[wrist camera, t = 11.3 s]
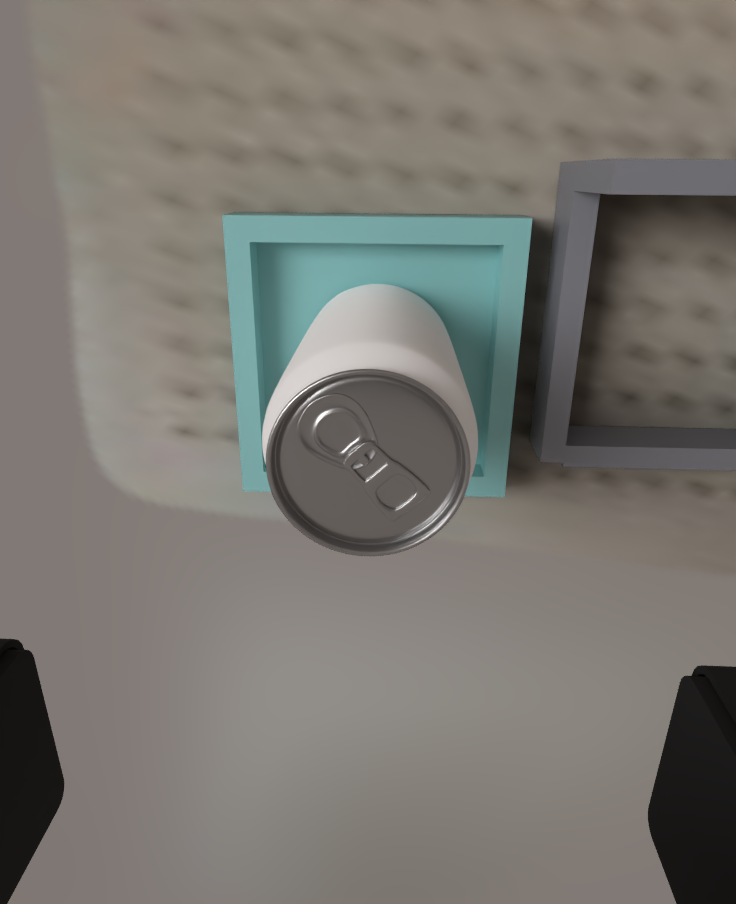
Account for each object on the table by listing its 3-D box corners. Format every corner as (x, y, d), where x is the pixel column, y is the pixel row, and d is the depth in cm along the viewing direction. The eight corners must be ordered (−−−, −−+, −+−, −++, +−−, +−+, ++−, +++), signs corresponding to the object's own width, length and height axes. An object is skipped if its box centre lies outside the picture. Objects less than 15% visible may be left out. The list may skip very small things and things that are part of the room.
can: (382, 248, 27) (374, 299, 16) (481, 360, 29) (535, 477, 18) (274, 351, 29) (200, 461, 18) (373, 451, 31) (362, 607, 20)
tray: (523, 215, 27) (532, 218, 25) (498, 478, 32) (504, 497, 30) (233, 212, 27) (222, 215, 25) (251, 472, 32) (243, 491, 30)
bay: (826, 164, 26) (970, 161, 19) (752, 449, 31) (848, 522, 24) (561, 162, 26) (615, 158, 20) (528, 444, 31) (564, 516, 24)
